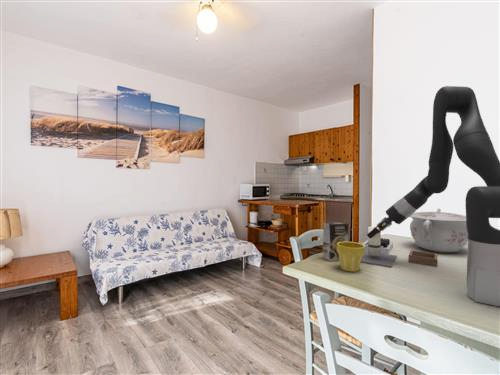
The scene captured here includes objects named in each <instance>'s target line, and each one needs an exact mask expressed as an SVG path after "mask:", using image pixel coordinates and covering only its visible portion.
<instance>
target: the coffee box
mask: <svg viewBox="0 0 500 375" xmlns="http://www.w3.org/2000/svg"><path fill="white" fill-rule="evenodd" d="M322 230H323V235H322V236H323V237H322V238H323V240H322V258H323V259H324V260H327V261H329V262H337V261H338V262H340V259H339V254H338V252H337V243H338V242H349V223H347V222H343V221H342V222H341V221H328V222H326V221H325V222H323V228H322Z"/></svg>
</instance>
